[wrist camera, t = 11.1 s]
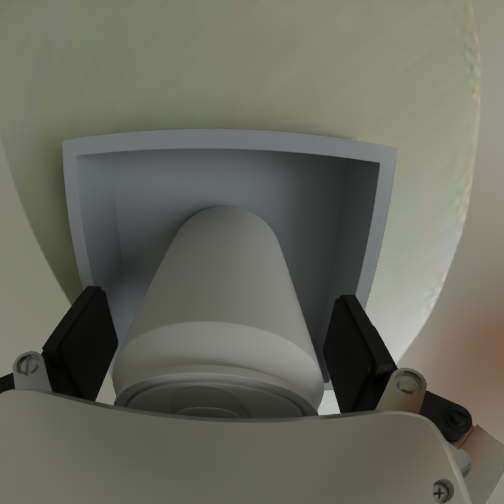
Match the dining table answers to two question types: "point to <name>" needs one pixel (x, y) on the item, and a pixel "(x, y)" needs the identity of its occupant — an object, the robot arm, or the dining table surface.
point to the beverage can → (220, 328)
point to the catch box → (233, 195)
